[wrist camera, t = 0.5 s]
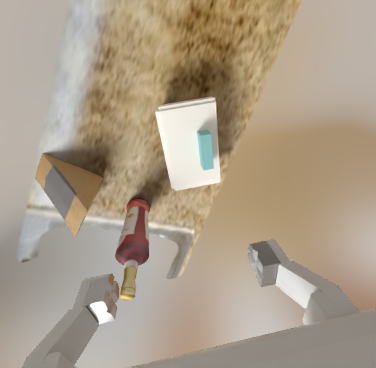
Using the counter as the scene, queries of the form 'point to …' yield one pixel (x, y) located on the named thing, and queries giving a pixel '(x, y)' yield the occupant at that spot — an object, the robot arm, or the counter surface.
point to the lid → (190, 142)
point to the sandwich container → (68, 188)
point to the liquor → (133, 245)
